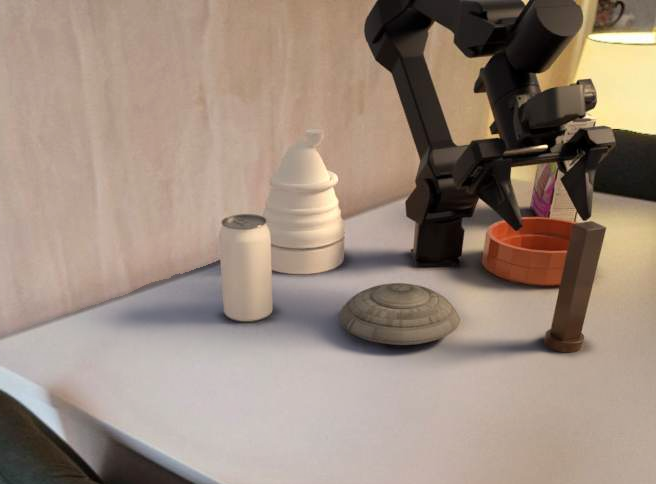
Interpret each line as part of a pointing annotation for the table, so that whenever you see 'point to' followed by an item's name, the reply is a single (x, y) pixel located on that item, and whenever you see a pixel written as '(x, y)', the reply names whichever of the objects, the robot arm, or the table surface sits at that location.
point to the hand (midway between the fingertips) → (553, 224)
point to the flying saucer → (399, 314)
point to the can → (246, 267)
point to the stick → (575, 287)
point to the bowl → (528, 250)
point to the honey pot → (304, 212)
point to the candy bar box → (556, 181)
